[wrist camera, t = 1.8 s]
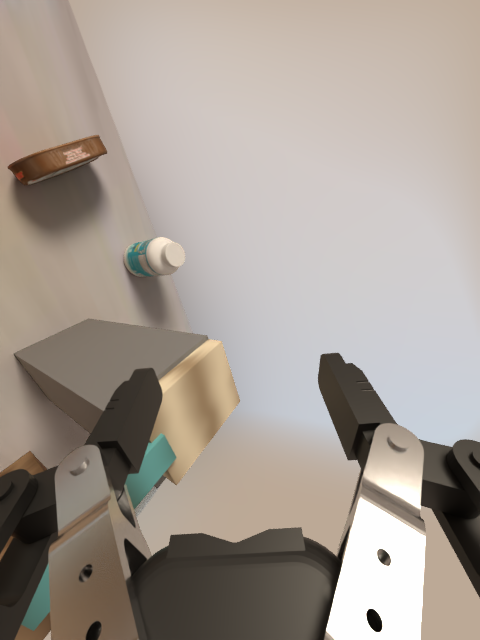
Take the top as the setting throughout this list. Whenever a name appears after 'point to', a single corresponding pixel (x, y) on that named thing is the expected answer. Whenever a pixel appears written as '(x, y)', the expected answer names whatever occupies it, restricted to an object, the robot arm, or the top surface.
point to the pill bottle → (154, 257)
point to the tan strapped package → (172, 434)
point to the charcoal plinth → (101, 363)
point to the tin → (57, 160)
